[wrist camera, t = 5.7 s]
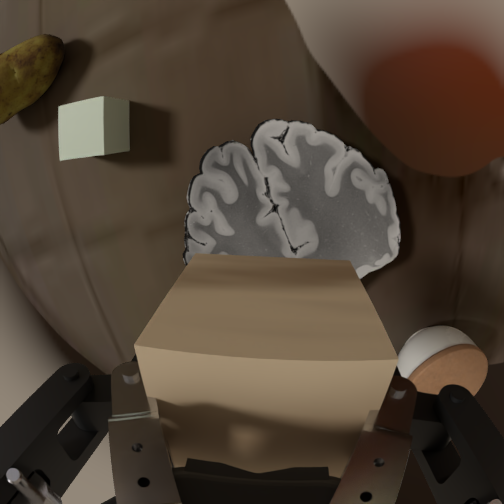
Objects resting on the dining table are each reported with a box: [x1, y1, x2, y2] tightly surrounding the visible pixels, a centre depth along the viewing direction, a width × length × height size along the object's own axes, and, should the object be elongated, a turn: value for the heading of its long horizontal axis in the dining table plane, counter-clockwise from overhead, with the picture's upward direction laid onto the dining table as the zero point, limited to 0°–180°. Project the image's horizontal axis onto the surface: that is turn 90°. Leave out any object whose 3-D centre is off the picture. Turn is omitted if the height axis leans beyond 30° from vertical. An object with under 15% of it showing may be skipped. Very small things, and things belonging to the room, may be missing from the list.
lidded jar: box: [397, 326, 488, 396], centre depth 28 cm, size 11×11×9 cm
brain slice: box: [183, 119, 401, 279], centre depth 28 cm, size 20×17×3 cm
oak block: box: [134, 253, 399, 478], centre depth 10 cm, size 6×6×6 cm
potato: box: [0, 34, 64, 124], centre depth 21 cm, size 8×13×8 cm, turn 96°
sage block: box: [58, 96, 130, 160], centre depth 24 cm, size 5×5×5 cm
